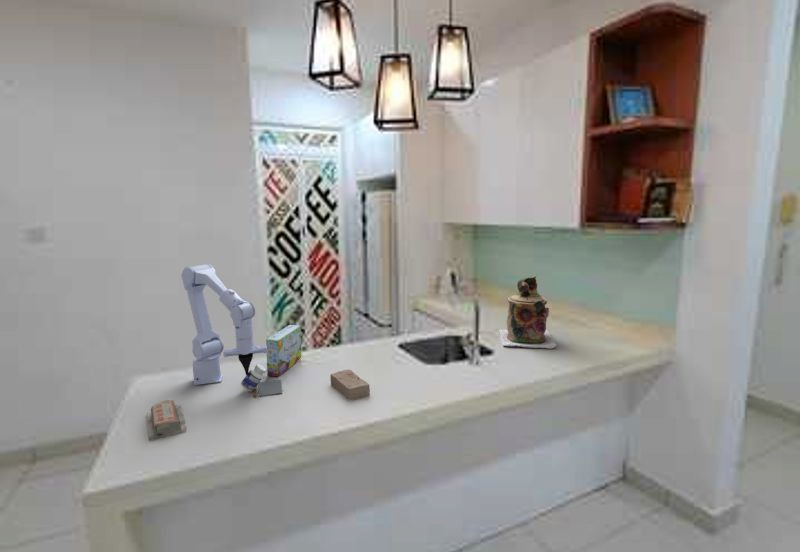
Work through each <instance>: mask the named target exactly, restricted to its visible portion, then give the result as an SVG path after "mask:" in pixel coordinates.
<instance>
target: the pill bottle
mask: <svg viewBox="0 0 800 552" xmlns="http://www.w3.org/2000/svg"><path fill="white" fill-rule="evenodd" d="M266 372H267V367H265V366H264V365H262V364H260V363H257V364H256V365H255V366H254V368H253V367H252V368H251V369H250V370H249V371H248V375H246V374H245V377H244V378H243V379H242V381H241V382H240V385H241V386H242V388H243V389H245V390H246V391H248V392H254V389H255V388H256V386H257V387H258V386H259V382H262V380H263V378H264V374H265V373H266Z"/></svg>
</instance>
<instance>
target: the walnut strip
mask: <svg viewBox="0 0 800 552" xmlns="http://www.w3.org/2000/svg"><path fill="white" fill-rule="evenodd" d="M253 398H258V385H257V386H256V388H255V389H254V390H253Z"/></svg>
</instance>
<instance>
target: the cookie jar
mask: <svg viewBox="0 0 800 552" xmlns="http://www.w3.org/2000/svg"><path fill="white" fill-rule="evenodd" d="M516 287H517V290H518V292H517V293H516V294H514V295H512V294H511V295H510V296H508V298H507V302H508V304H509V306H508V309H507V310H508V311H507V319H506V328H507V329H502V328H501V329H498V332H499V338H500V343H501V345H502V347H522V348H531V349H532V348H533V349H534V348H535V349H537V348H538V349H549V350H551V349H554V348H555V347H556V346H557V344H556V342H555V341H554V339H553V338H552V335H551V334H550V332H549V329H547V318H549V315H550V314H549V313H550V309H549V307H546V305H547V303H548V300H547V298H545V297H543V296H541V294H539V293H538V283H537V274H535V275H534V276H529V277H528V276H527V277H523V278H520V279H519V280H518V282H517V286H516Z"/></svg>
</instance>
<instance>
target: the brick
mask: <svg viewBox="0 0 800 552" xmlns="http://www.w3.org/2000/svg"><path fill="white" fill-rule="evenodd" d="M329 376H330V384H331V385H330V386H332V387H333V388H335V389H336V390H337V392H339V393H341V394H342V395H344V397H346V398H347V399H349V400H351V401H352V400H353V401H354V400H357V399H360V398H363V397H364V398H365V397H368V396H370V391H371V390H370V383H368V382H367V381H366V380H365V379H362V378H360V377H359V375H357V374H356V373H355V372H354V371H352V369H343V370H340V371H337V372H334V373H331V374H330V375H329Z"/></svg>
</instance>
